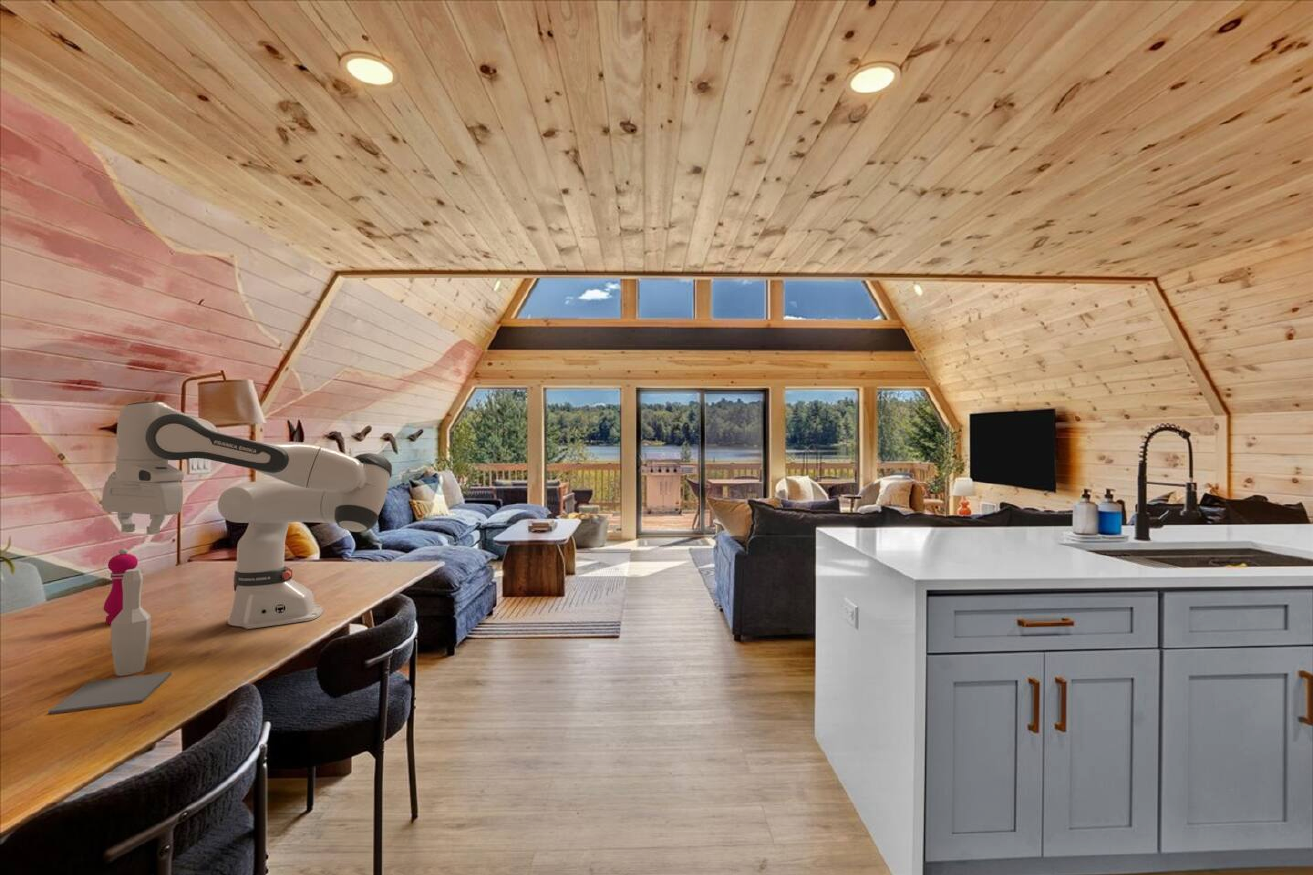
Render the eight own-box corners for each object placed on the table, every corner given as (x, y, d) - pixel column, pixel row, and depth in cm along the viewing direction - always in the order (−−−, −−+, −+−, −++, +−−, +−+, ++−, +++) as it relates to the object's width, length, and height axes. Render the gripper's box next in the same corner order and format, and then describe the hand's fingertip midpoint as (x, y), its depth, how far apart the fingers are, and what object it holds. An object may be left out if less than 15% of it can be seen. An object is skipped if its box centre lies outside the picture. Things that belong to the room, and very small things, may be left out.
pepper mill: (108, 627, 151) (110, 551, 151) (99, 622, 155) (101, 548, 155) (143, 620, 157) (145, 548, 157) (133, 615, 161) (135, 545, 161)
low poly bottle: (148, 663, 128) (151, 565, 128) (150, 671, 123) (153, 570, 123) (109, 670, 123) (112, 569, 123) (109, 679, 119) (112, 574, 119)
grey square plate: (171, 674, 122) (171, 671, 122) (142, 702, 109) (142, 699, 109) (89, 683, 117) (89, 681, 117) (48, 713, 104) (48, 711, 104)
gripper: (93, 471, 128) (91, 532, 128) (159, 474, 123) (157, 537, 123) (125, 470, 135) (123, 528, 134) (189, 473, 129) (188, 533, 129)
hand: (140, 533), depth 129 cm, fingers open, 6 cm apart
